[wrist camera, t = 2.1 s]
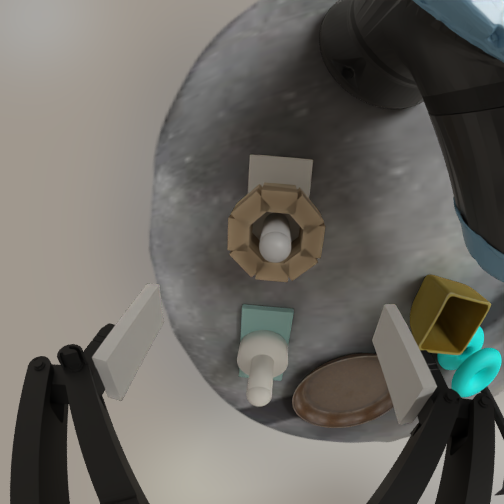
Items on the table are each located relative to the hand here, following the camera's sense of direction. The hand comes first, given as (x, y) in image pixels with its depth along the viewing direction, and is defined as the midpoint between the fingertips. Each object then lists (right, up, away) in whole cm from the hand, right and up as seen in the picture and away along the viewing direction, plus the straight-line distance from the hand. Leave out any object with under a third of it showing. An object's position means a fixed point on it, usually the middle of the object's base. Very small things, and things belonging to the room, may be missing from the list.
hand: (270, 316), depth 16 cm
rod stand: (+2, +8, +18) cm, 20 cm away
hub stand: (+1, -10, +26) cm, 28 cm away
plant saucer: (+16, -20, +29) cm, 39 cm away
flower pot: (+25, -2, +21) cm, 33 cm away
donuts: (+36, -12, +24) cm, 45 cm away
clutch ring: (+1, +6, +15) cm, 16 cm away
